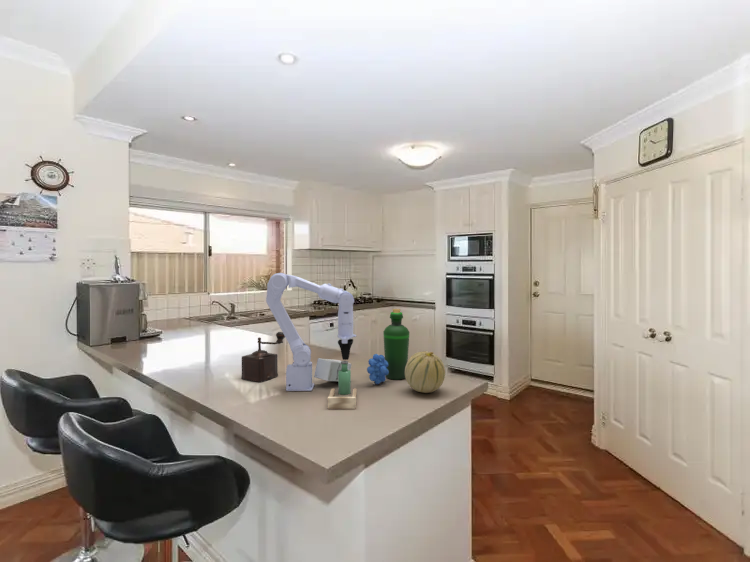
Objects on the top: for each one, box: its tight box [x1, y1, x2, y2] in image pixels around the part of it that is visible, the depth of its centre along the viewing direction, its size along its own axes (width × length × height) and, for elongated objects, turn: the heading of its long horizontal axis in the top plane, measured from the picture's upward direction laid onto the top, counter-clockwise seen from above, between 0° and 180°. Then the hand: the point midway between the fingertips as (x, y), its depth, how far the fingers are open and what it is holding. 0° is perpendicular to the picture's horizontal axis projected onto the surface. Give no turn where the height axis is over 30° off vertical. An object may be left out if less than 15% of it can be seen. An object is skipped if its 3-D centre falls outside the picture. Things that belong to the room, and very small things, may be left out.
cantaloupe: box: [404, 350, 446, 394], centre depth 147 cm, size 15×15×15 cm
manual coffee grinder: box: [241, 331, 286, 384], centre depth 167 cm, size 16×11×18 cm
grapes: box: [366, 353, 389, 385], centre depth 156 cm, size 12×7×12 cm, turn 138°
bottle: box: [383, 308, 410, 381], centre depth 166 cm, size 11×11×28 cm
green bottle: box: [337, 360, 352, 396], centre depth 146 cm, size 4×4×11 cm
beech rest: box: [327, 388, 358, 410], centre depth 136 cm, size 9×13×4 cm
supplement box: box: [313, 357, 352, 382], centre depth 157 cm, size 7×7×13 cm
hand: (345, 359), depth 153 cm, fingers closed
